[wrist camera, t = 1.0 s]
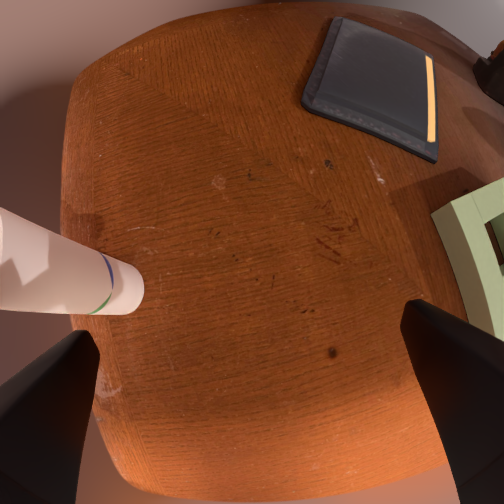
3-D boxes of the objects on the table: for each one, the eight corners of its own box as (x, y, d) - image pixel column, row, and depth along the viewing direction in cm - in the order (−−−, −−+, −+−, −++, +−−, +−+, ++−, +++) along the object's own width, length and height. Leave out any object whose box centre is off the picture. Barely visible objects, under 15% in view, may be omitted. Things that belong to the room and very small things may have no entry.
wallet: (336, 8, 27) (440, 52, 25) (334, 18, 29) (435, 61, 27) (294, 94, 23) (443, 160, 22) (292, 107, 25) (433, 168, 24)
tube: (94, 305, 22) (-52, 286, 7) (107, 257, 23) (-29, 195, 8) (136, 321, 22) (-11, 324, 7) (150, 270, 22) (16, 210, 8)
